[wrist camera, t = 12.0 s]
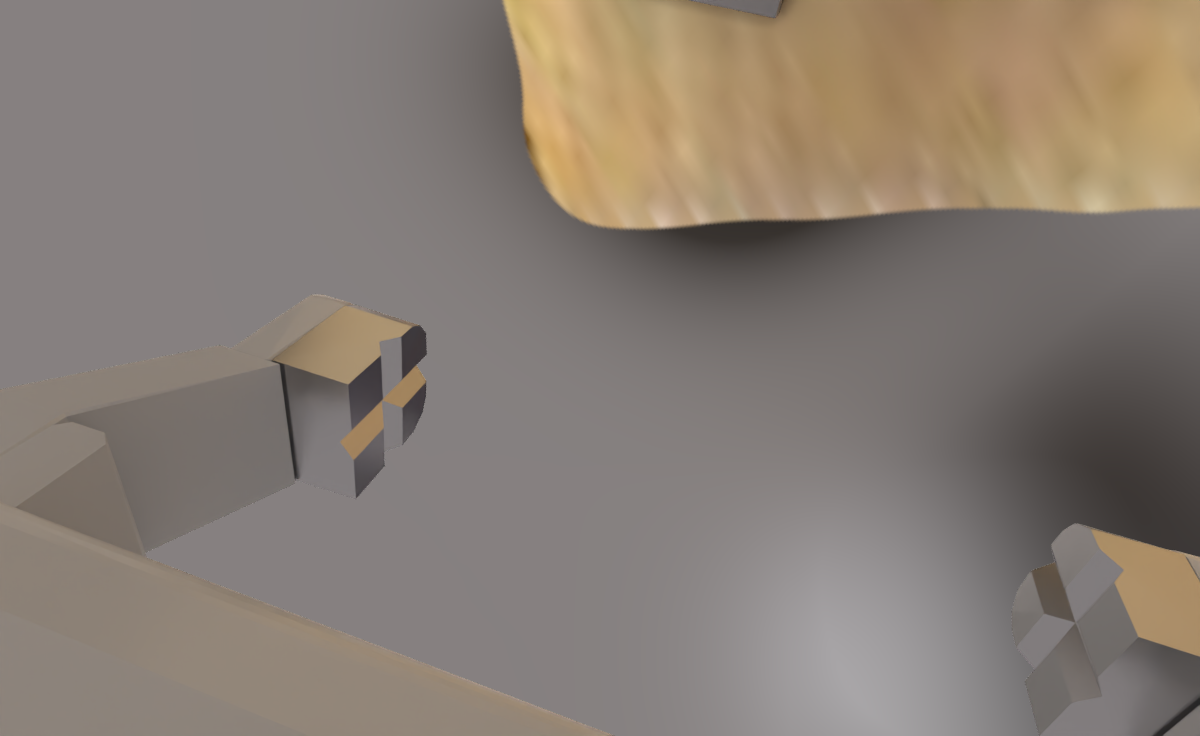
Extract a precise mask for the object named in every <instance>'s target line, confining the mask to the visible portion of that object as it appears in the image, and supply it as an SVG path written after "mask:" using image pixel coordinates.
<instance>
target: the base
mask: <svg viewBox="0 0 1200 736" xmlns="http://www.w3.org/2000/svg"><path fill="white" fill-rule="evenodd" d="M690 1H695V2H700V3H705V4H710V5H714V6H719V7H724V8H729V9H733V10H738V11H743V12H748V13H753V14H757V15H762V16H767V17H772V18H776V16H777V15H778V14H779V12H780V8H781V4H782V1H783V0H690Z"/></svg>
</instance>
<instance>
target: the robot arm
mask: <svg viewBox="0 0 1200 736" xmlns="http://www.w3.org/2000/svg"><path fill="white" fill-rule="evenodd" d="M426 347H427V346H426V332H425V331H424V330H423V328H422V327H421V326H420V325H417V324H414V323H411V322H408V321H405V320H402V319H399V318H396V317H392V316H389V315H386V314H383V313H380V312H377V311H373V310H370V309H368V308H364V307H362V306H358V305H353V304H351V303H349V302H346V301H342V300H339V299H336V298H332V297H329V296H325V295H310V296H309V297H307V298H306V299H304V300H303V301H301V302H300V303H299V304H297V305H295V306H294V307H293V308H291V309H289V310H288V311H286V312H285V313H284V314H282V315H280V316H279V317H277V318H276V319H274V320H273V321H271V322H270V323H268V324H267V325H265V326H264V327H262V328H261V329H259V330H258V331H256V332H255V333H253V334H252V335H250V336H249V337H247V338H246V339H244V340H243V341H242V342H240V343H238V344H237V345H235V346H234V347H232V348H228V347H224V346H221V345H219V346H213V347H208V348H204V349H198V350H193V351H188V352H184V353H178V354H173V355H168V356H163V357H159V358H154V359H149V360H144V361H138V362H133V363H128V364H124V365H118V366H113V367H109V368H104V369H98V370H93V371H88V372H83V373H78V374H74V375H68V376H64V377H59V378H54V379H49V380H44V381H39V382H34V383H29V384H24V385H19V386H14V387H9V388H4V389H0V736H614V735H611V734H609V733H606V732H603V731H601V730H598V729H595V728H593V727H590V726H587V725H585V724H582V723H580V722H577V721H574V720H572V719H569V718H567V717H564V716H561V715H559V714H556V713H554V712H551V711H548V710H546V709H543V708H540V707H538V706H535V705H532V704H530V703H527V702H525V701H522V700H519V699H517V698H514V697H512V696H509V695H506V694H504V693H501V692H498V691H496V690H493V689H490V688H488V687H485V686H482V685H480V684H477V683H475V682H472V681H470V680H467V679H464V678H462V677H459V676H456V675H454V674H451V673H448V672H446V671H443V670H441V669H438V668H435V667H433V666H430V665H428V664H425V663H422V662H420V661H417V660H414V659H412V658H409V657H407V656H404V655H401V654H399V653H396V652H393V651H391V650H388V649H385V648H383V647H380V646H378V645H375V644H372V643H370V642H367V641H365V640H362V639H359V638H357V637H354V636H351V635H349V634H346V633H343V632H341V631H338V630H336V629H333V628H330V627H328V626H325V625H322V624H320V623H317V622H314V621H312V620H309V619H307V618H304V617H301V616H298V615H296V614H293V613H291V612H288V611H285V610H283V609H280V608H278V607H275V606H272V605H270V604H267V603H264V602H262V601H259V600H257V599H254V598H251V597H249V596H246V595H243V594H241V593H238V592H236V591H233V590H230V589H228V588H225V587H222V586H220V585H217V584H215V583H212V582H209V581H207V580H204V579H201V578H199V577H196V576H193V575H191V574H188V573H186V572H183V571H181V570H178V569H175V568H172V567H170V566H167V565H164V564H162V563H160V562H157V561H154V560H152V559H149V558H147V556H146V554H145V553H146V552H148V551H150V550H152V549H154V548H156V547H158V546H161V545H163V544H165V543H167V542H169V541H172V540H174V539H176V538H178V537H180V536H182V535H185V534H187V533H189V532H191V531H193V530H196V529H198V528H200V527H202V526H204V525H206V524H209V523H211V522H213V521H215V520H217V519H219V518H222V517H223V516H226V515H228V514H230V513H232V512H235V511H237V510H239V509H241V508H243V507H246V506H248V505H250V504H252V503H254V502H256V501H258V500H261V499H263V498H265V497H267V496H269V495H271V494H274V493H276V492H278V491H280V490H282V489H285V488H287V487H289V486H291V485H293V484H295V480H297V481H300V482H303V483H306V484H310V485H313V486H316V487H319V488H322V489H325V490H329V491H332V492H335V493H338V494H341V495H345V496H347V497H351V498H354V499H356V498H357V497H358V496H359V495H360V494H361V493H362V491H363V490H364V489H365V488H366V487H367V486H368V485H369V484H370V482H371V481H372V480H373V479H374V478H375V477H376V475H377V474H378V473H379V472H380V471H381V470H382V469H383V467H384V466H385V465H384V464H385V463H384V452H385V451H387V450H390V449H393V448H396V447H399V446H401V445H403V444H404V443H405V441H406V440H407V439H408V438H409V436H410V435H411V434H412V433H413V432H414V430H415V428H416V425H417V423H418V421H419V419H420V417H421V415H422V412H423V408H424V403H425V398H426V380H425V378H424V377H423V375H422V374H421V372H420V370H419V369H418V367H417V364H418V363H419V362H420V361H421V360H422V359H423V358H424V357H425V356H426V354H427V350H426V349H427V348H426ZM1051 548H1052V553H1053V557H1054V561H1055V562H1054V563H1051V564H1048V565H1046V566H1043V567H1040V568H1037V569H1034V570H1032V571H1031V572H1030V573H1029V574H1028V576H1027V577H1026V579H1025V580H1024V581H1023V583H1022V584H1021V586H1020V587H1019V588H1018V590H1017V593H1016V597H1015V601H1014V604H1013V608H1012V633H1013V637H1014V641H1015V645H1016V648H1017V649H1018V650H1019V652H1020V653H1021V654H1022V655H1023V656H1024V657H1025V659H1026V660H1027V661H1028V662H1029V663H1030V665H1031V666H1032V667H1033V668H1034V670H1033V672H1032V673H1031V674H1030V675H1029V677H1028V678H1027V679H1026V681H1025V685H1026V688H1027V692H1028V695H1029V699H1030V703H1031V707H1032V711H1033V715H1034V718H1035V722H1036V726H1037V730H1038V733H1039V736H1200V557H1197V556H1193V555H1190V554H1186V553H1182V552H1178V551H1175V550H1171V551H1170V550H1167V549H1163V548H1160V547H1156V546H1153V545H1150V544H1146V543H1143V542H1139V541H1136V540H1132V539H1129V538H1125V537H1122V536H1119V535H1115V534H1112V533H1108V532H1105V531H1101V530H1098V529H1094V528H1091V527H1088V526H1084V525H1080V524H1077V523H1076V524H1074V525H1072V526H1070V527H1069V528H1067V529H1065V530H1063V531H1062V532H1061V534H1060V535H1059V536H1058V537H1057V538H1056V540H1055V541H1054V542H1053V543H1052V545H1051Z"/></svg>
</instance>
